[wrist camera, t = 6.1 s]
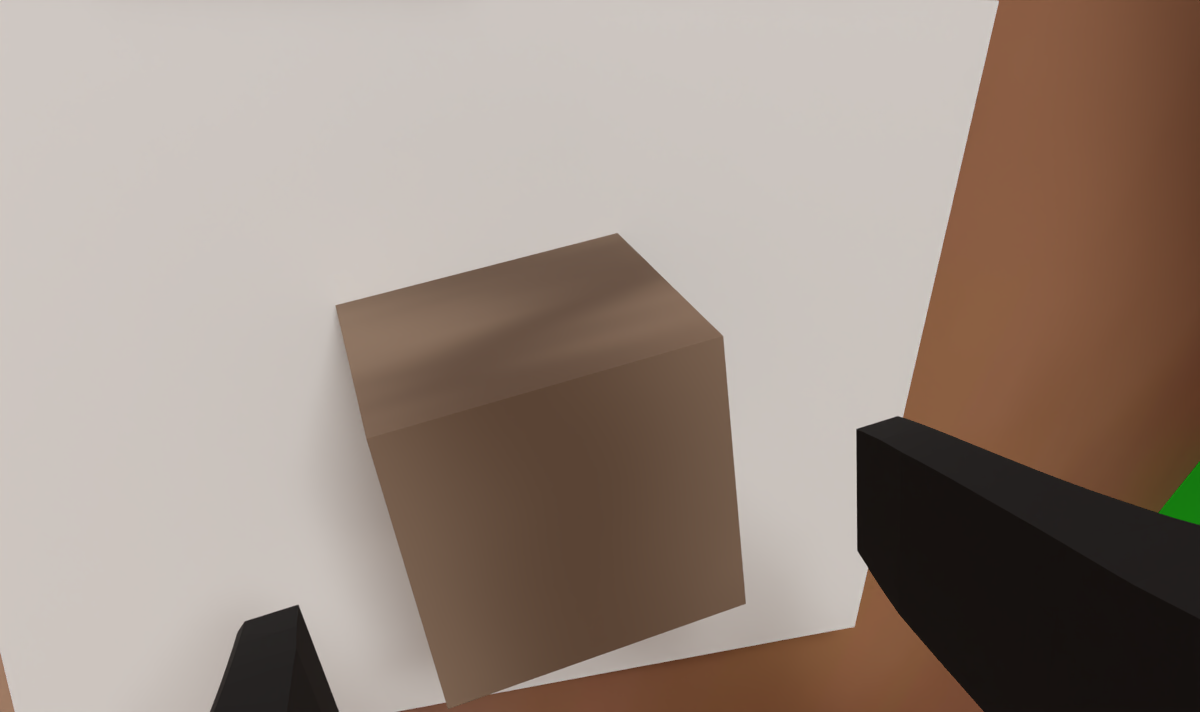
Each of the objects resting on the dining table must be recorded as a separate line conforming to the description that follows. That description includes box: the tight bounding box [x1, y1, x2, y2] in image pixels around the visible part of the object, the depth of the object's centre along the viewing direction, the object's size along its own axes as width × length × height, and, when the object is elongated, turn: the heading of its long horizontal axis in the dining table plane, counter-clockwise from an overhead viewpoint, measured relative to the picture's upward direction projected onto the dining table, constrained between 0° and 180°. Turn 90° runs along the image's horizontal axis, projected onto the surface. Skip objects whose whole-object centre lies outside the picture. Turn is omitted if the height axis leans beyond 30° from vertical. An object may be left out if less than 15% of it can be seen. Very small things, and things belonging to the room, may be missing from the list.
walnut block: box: [335, 233, 746, 709], centre depth 15 cm, size 4×4×4 cm
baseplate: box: [0, 0, 999, 712], centre depth 17 cm, size 16×13×1 cm
